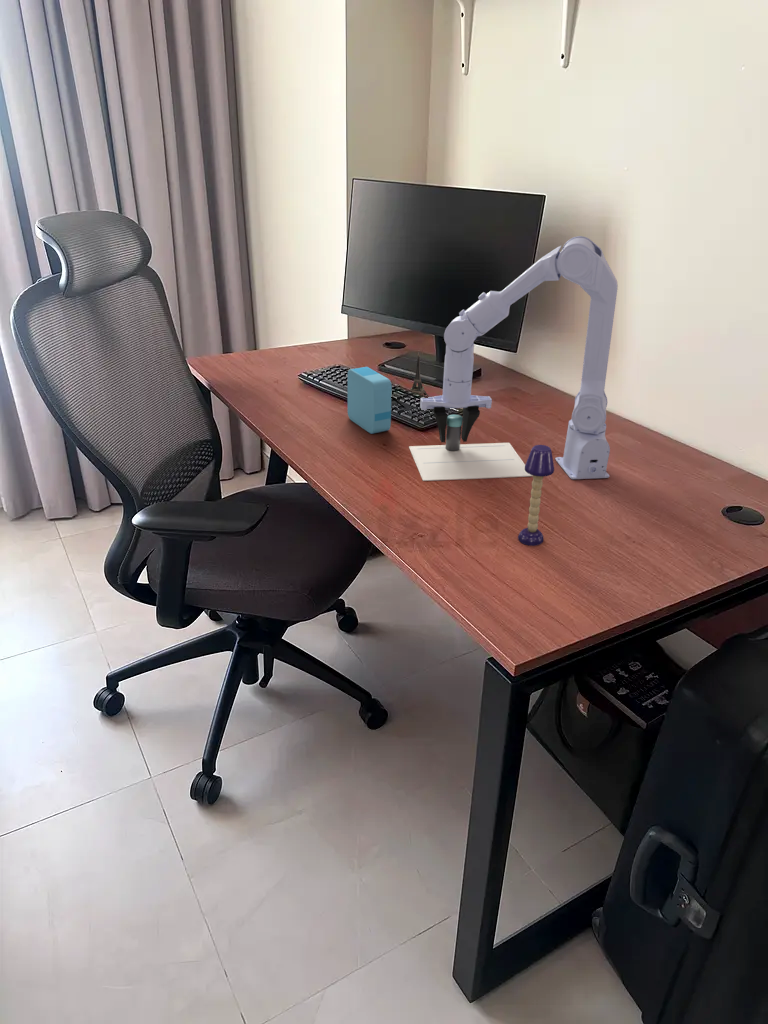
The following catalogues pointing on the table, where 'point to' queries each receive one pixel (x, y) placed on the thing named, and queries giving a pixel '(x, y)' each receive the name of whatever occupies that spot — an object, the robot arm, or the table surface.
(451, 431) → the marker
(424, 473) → the paper
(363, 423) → the light blue block
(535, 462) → the toy lamp
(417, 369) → the eiffel tower figurine
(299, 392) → the table surface
